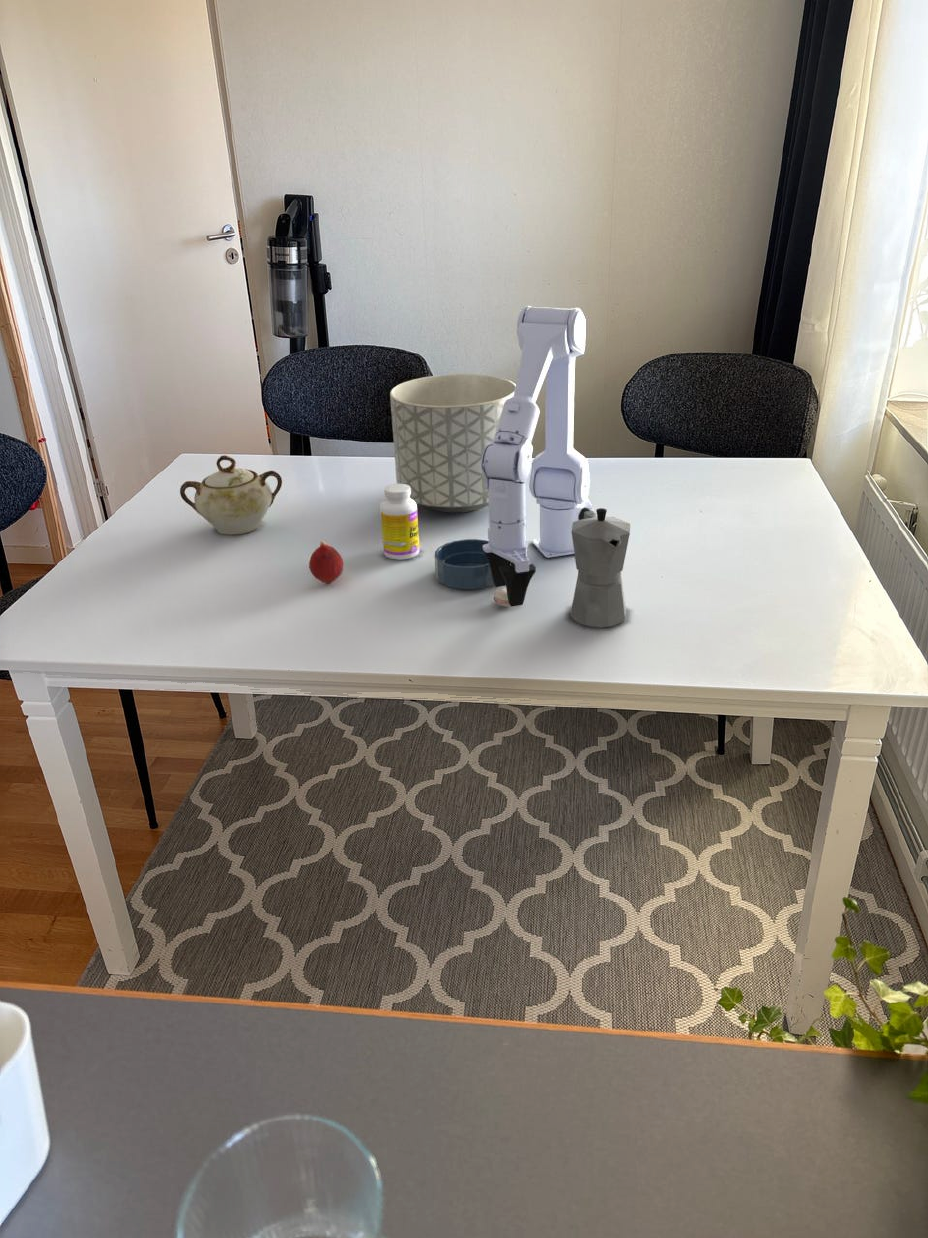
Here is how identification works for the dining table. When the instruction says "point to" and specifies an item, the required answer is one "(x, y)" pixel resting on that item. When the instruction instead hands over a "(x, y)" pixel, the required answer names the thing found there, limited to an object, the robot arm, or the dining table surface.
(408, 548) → the supplement bottle
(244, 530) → the sugar bowl
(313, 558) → the onion
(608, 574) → the coffeepot
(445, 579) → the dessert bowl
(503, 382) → the planter
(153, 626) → the dining table surface
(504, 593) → the beige pebble
